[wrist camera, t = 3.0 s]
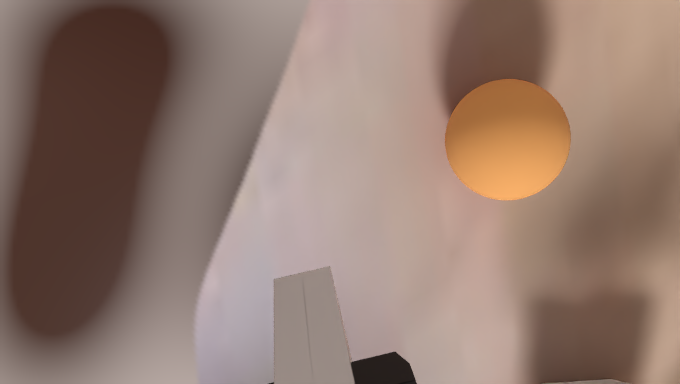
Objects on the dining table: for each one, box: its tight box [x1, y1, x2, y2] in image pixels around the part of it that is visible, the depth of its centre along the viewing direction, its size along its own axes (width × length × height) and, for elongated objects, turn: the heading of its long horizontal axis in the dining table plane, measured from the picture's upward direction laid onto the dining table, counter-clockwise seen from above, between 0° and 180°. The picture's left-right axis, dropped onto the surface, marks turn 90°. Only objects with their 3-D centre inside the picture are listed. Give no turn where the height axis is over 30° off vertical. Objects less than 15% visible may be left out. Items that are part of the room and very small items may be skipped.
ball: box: [445, 79, 571, 200], centre depth 28 cm, size 6×6×6 cm
